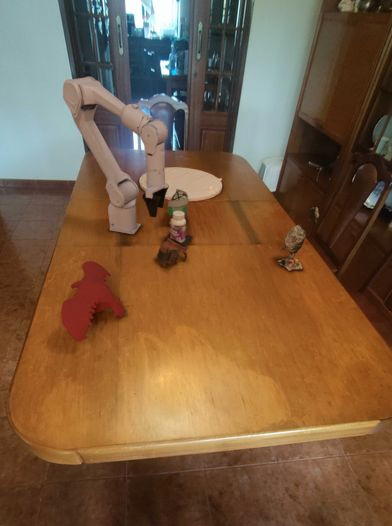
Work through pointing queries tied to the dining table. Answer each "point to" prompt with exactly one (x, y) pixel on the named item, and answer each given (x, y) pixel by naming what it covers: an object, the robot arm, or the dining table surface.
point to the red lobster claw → (89, 301)
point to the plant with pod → (296, 243)
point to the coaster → (184, 241)
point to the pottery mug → (170, 252)
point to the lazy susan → (189, 183)
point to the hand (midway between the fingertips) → (156, 211)
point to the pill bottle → (178, 226)
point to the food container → (178, 203)
